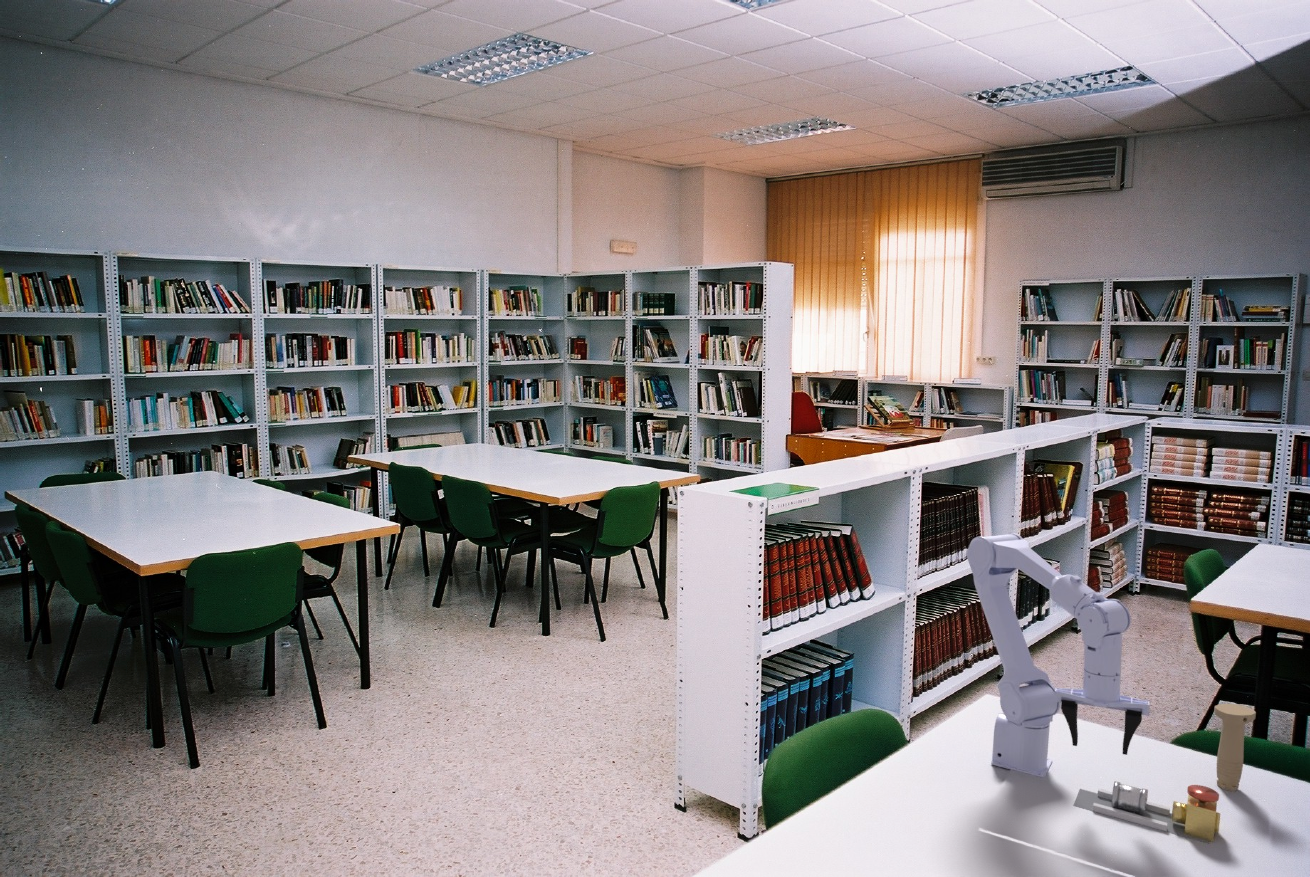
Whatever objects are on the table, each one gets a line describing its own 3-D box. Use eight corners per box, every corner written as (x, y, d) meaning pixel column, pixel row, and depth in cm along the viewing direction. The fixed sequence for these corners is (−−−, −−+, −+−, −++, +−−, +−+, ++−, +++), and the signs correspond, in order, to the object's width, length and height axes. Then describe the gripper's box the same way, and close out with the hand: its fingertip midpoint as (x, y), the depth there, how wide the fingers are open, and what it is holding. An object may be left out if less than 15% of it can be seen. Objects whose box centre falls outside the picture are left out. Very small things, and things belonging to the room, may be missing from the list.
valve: (1170, 829, 146) (1173, 790, 146) (1172, 816, 151) (1176, 778, 150) (1217, 843, 143) (1221, 803, 142) (1218, 828, 147) (1222, 789, 146)
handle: (1253, 794, 159) (1262, 714, 157) (1221, 796, 158) (1228, 715, 157) (1233, 781, 164) (1240, 703, 162) (1201, 782, 163) (1208, 704, 161)
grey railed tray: (1073, 807, 154) (1073, 799, 154) (1079, 790, 160) (1080, 783, 159) (1209, 845, 143) (1209, 837, 143) (1210, 826, 149) (1211, 818, 148)
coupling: (1110, 809, 152) (1113, 783, 152) (1113, 803, 155) (1116, 778, 156) (1144, 818, 149) (1146, 792, 149) (1146, 812, 153) (1148, 787, 153)
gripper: (1054, 671, 153) (1052, 748, 153) (1150, 684, 146) (1148, 765, 147) (1057, 659, 159) (1055, 733, 160) (1150, 671, 152) (1147, 749, 153)
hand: (1099, 748), depth 154 cm, fingers open, 7 cm apart
